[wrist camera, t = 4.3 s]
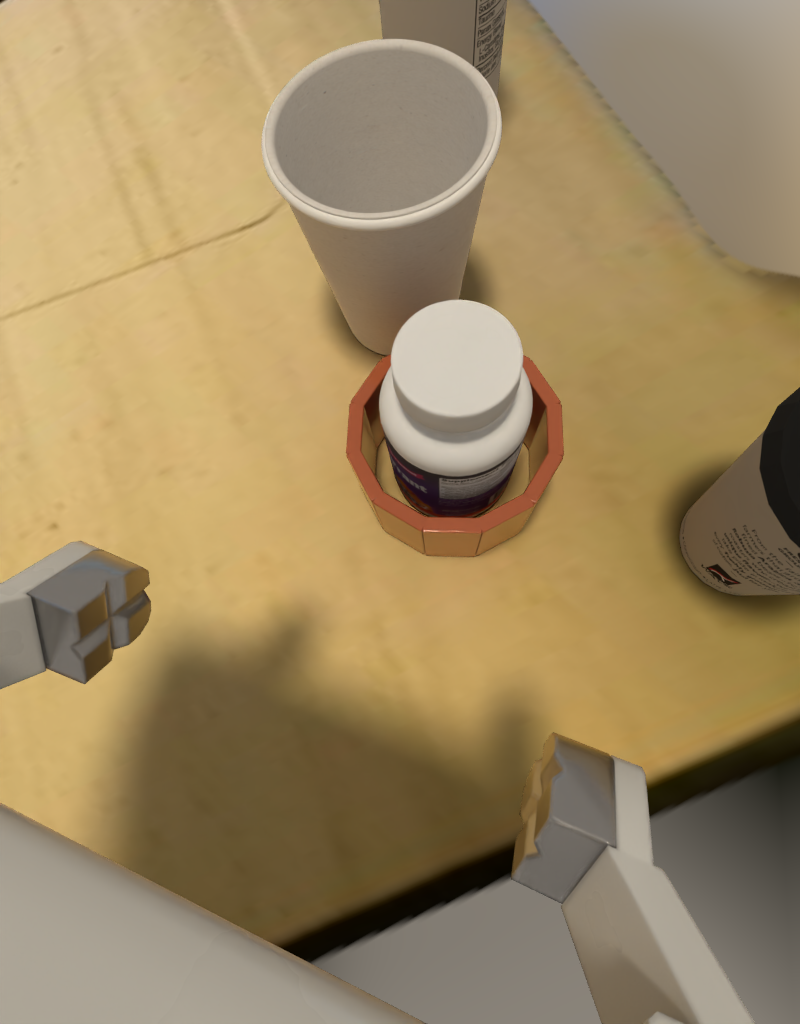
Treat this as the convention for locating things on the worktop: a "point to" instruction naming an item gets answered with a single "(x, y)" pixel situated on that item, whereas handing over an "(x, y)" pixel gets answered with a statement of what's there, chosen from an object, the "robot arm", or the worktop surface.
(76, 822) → the worktop surface
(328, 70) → the dixie cup
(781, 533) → the coffee cup
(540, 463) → the holder cup
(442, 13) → the energy drink can
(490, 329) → the pill bottle
